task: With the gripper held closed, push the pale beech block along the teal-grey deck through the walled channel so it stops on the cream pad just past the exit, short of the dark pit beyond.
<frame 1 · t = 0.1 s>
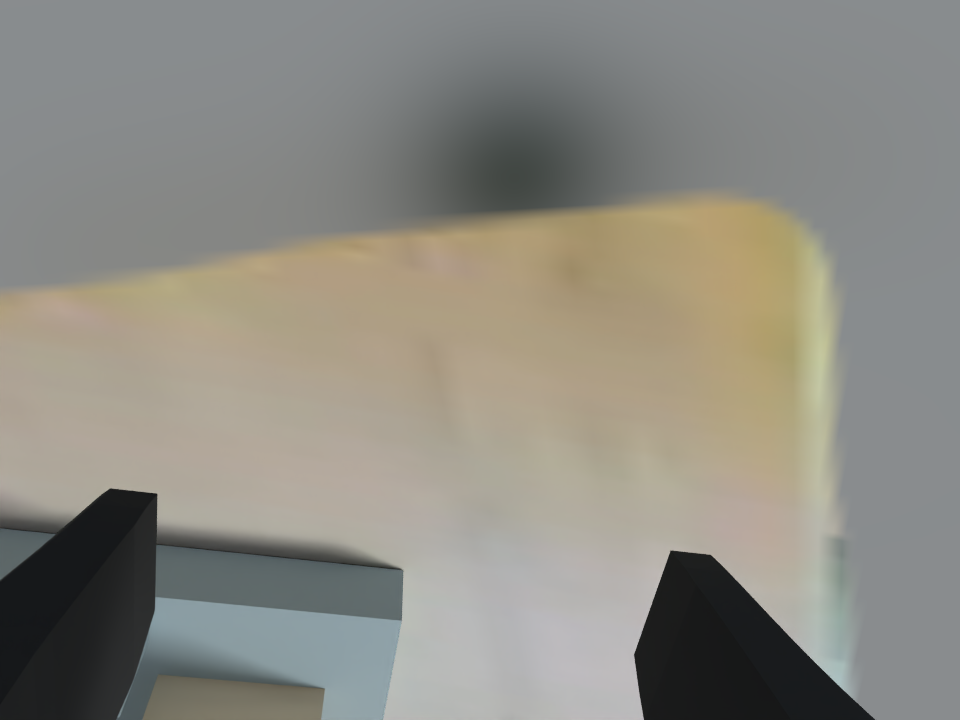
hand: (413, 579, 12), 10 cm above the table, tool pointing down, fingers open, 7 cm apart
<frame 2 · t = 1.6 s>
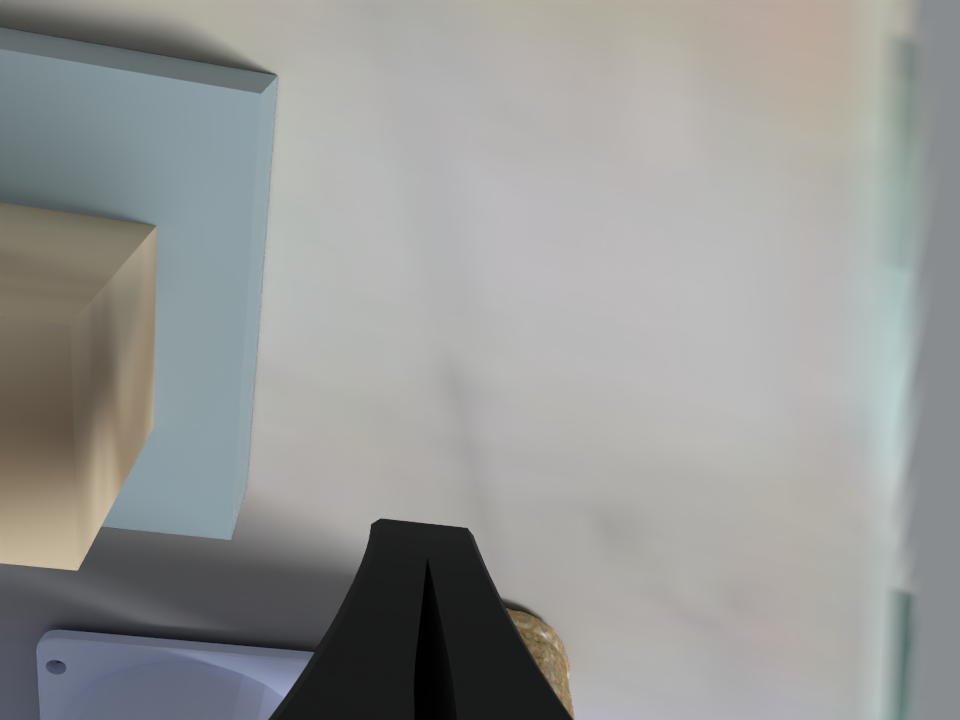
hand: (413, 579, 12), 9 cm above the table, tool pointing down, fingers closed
block: (36, 316, 17), point 2 cm above the table, touching deck
sprinkles bottle: (486, 655, 25), on the table
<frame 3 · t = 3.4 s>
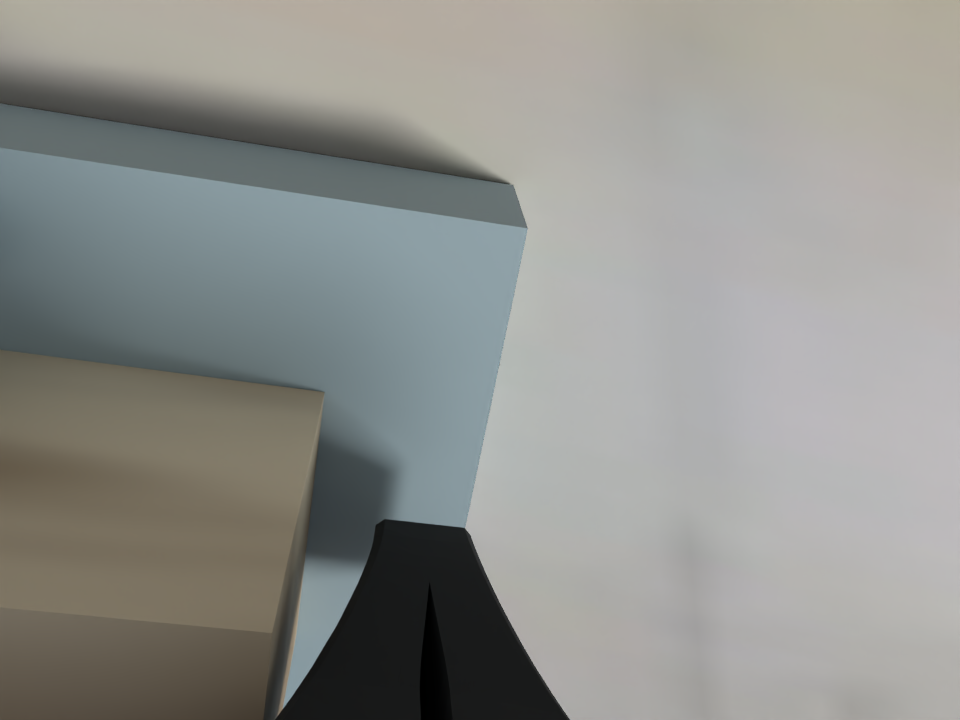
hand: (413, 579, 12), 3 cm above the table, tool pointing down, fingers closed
block: (153, 505, 13), point 2 cm above the table, touching deck, gripper
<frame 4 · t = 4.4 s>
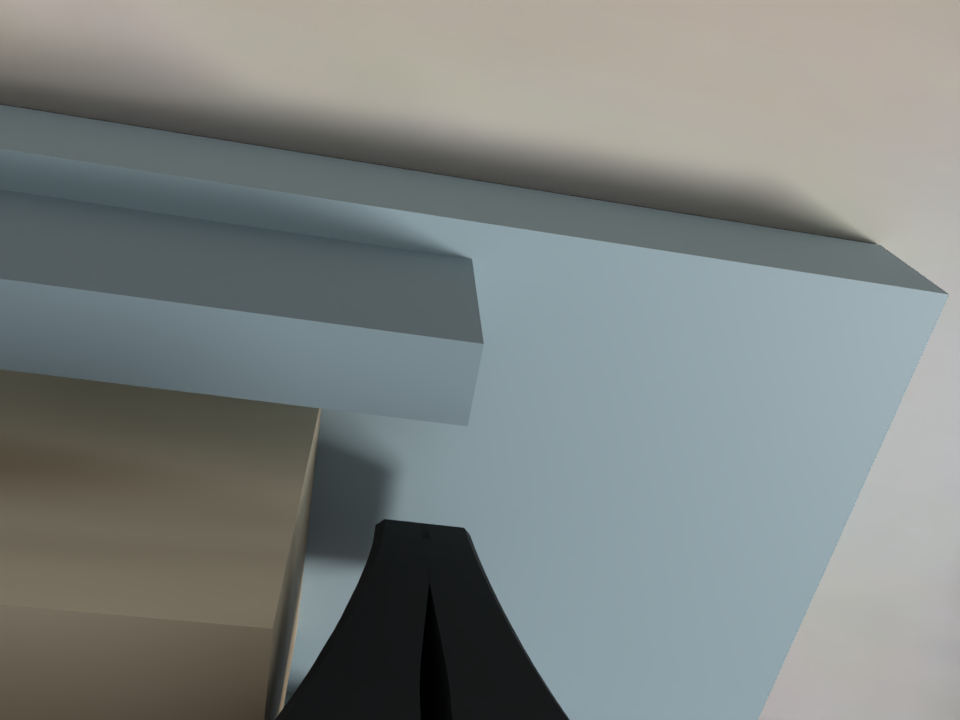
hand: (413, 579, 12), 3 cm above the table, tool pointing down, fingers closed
block: (152, 503, 13), point 2 cm above the table, touching gripper
deck: (56, 420, 14), on the table
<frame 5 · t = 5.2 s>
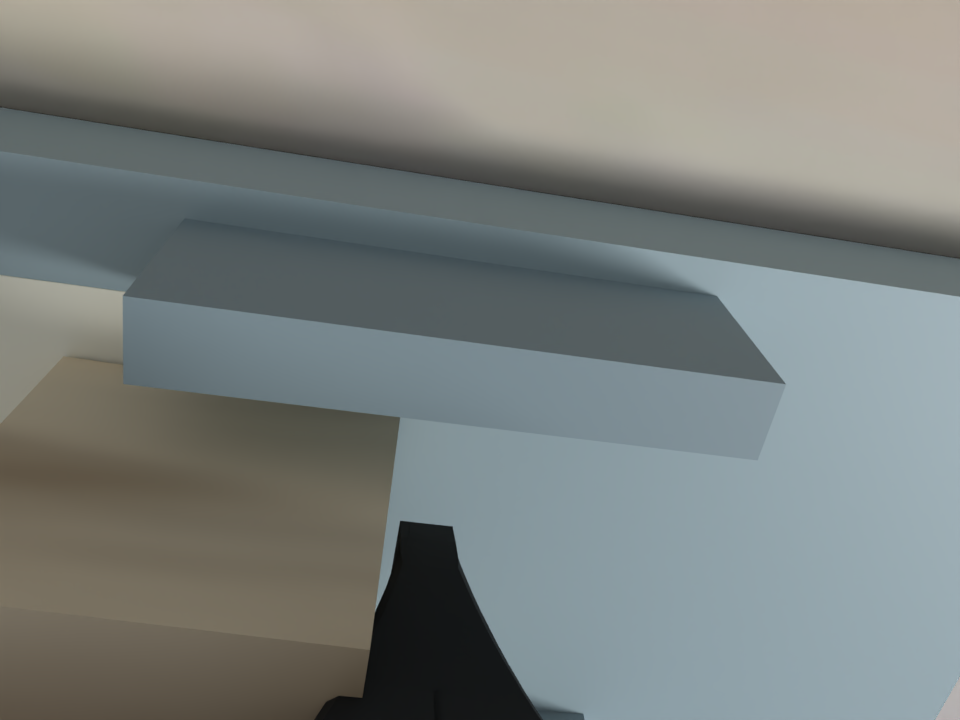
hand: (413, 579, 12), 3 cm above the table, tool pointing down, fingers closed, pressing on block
block: (227, 515, 13), point 2 cm above the table, touching gripper
deck: (267, 444, 15), on the table
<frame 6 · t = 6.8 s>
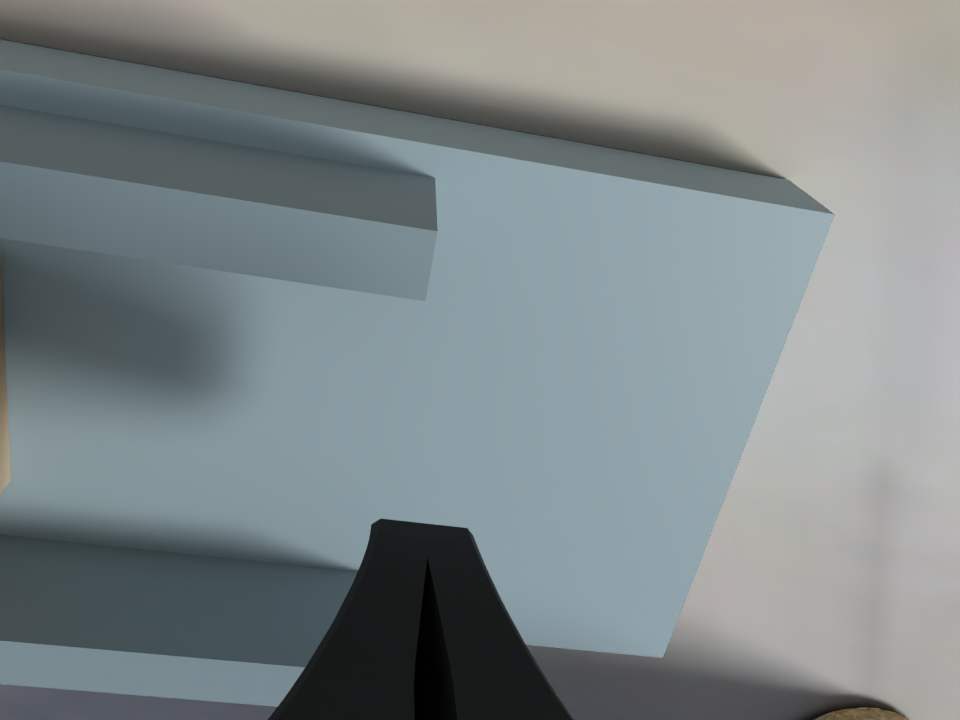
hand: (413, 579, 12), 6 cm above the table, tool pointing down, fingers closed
deck: (81, 326, 16), on the table
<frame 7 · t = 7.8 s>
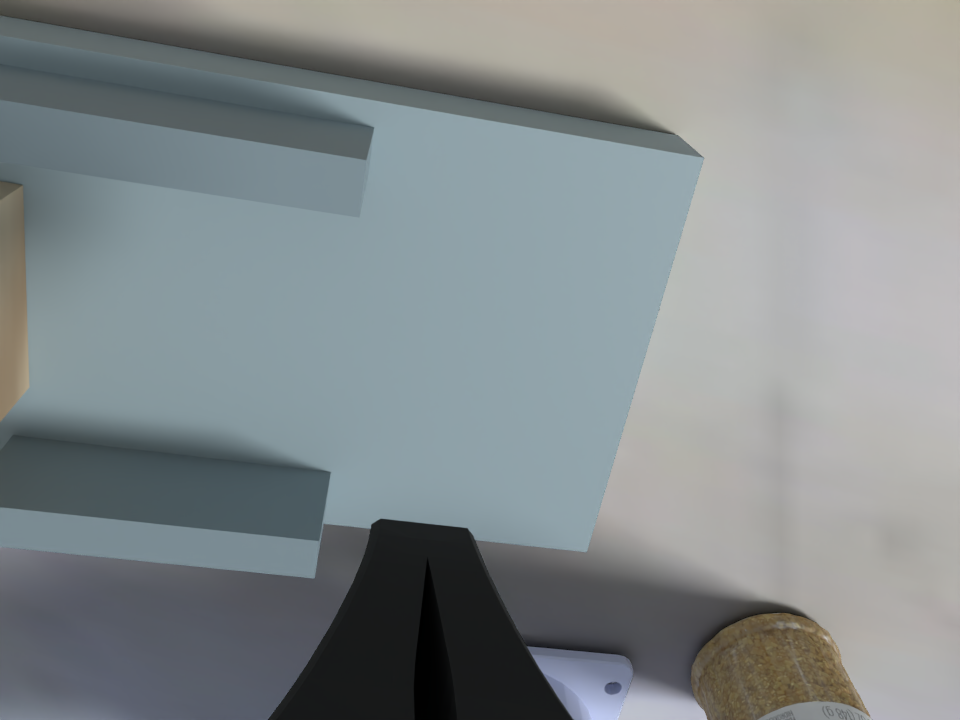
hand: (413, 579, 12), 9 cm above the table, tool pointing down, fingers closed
sprinkles bottle: (756, 656, 27), on the table
deck: (88, 262, 20), on the table
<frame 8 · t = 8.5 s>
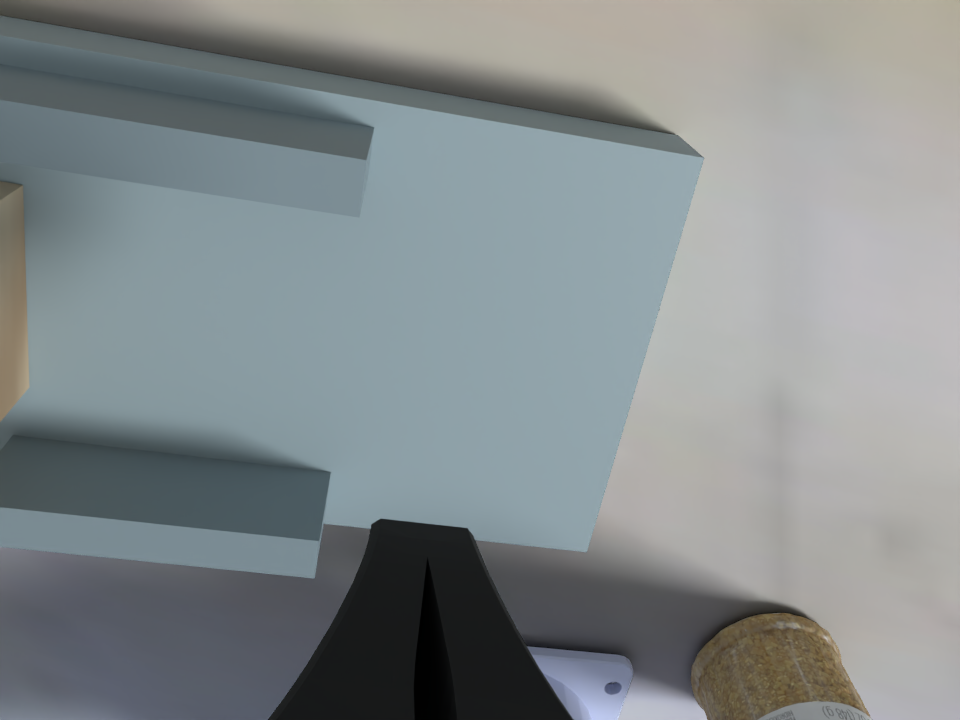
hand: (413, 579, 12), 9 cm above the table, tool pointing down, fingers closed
sprinkles bottle: (756, 656, 27), on the table
deck: (88, 262, 20), on the table
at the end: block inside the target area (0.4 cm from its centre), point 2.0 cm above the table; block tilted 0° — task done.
